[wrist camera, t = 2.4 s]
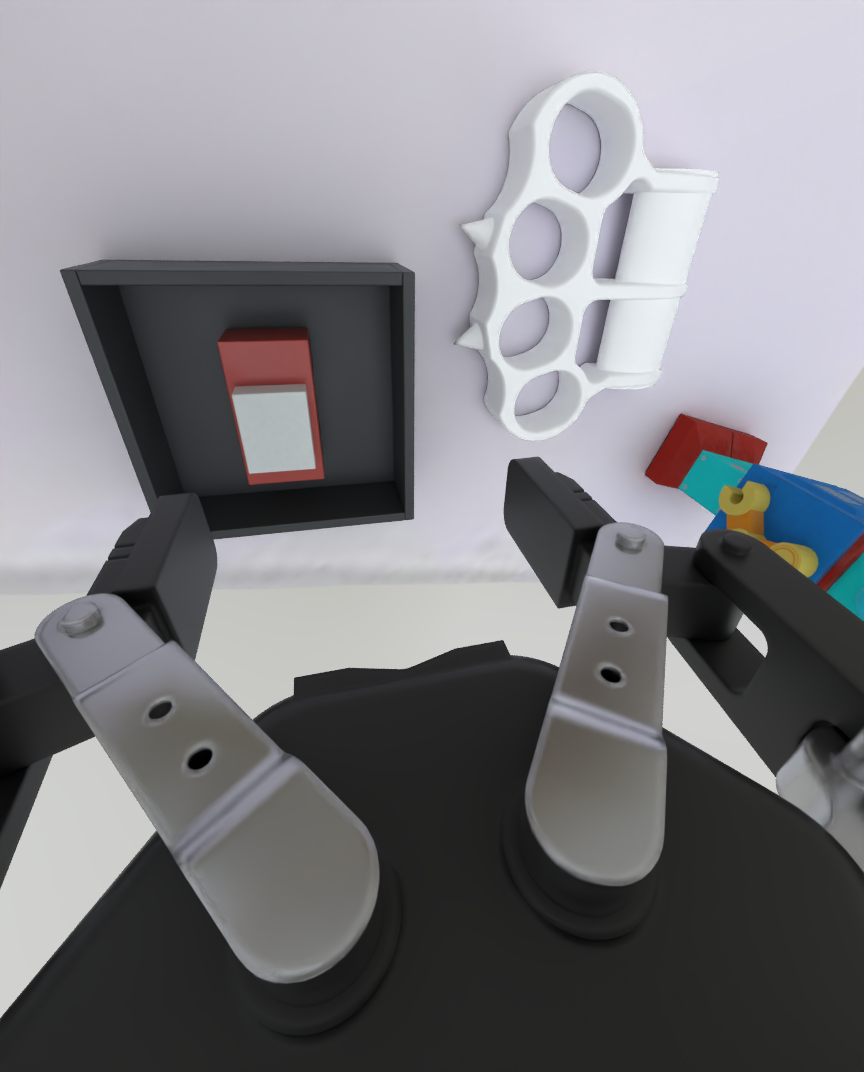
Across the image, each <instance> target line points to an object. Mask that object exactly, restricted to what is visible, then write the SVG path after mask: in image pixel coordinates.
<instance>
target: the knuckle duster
mask: <svg viewBox="0 0 864 1072" xmlns="http://www.w3.org/2000/svg"><path fill="white" fill-rule="evenodd" d="M566 103H568V104H571V105H573V106H575V107H577V108H578V109H580V110H582V111H583V112H585V113H587V114H588V115H589V116H590V117H591V118H592V119H593V120H594V122H595V123H596V125H597V127H598V130H599V133H600V138H601V156H600V161H599V165H598V168H597V171H596V173H595V175H594V177H593V179H592V180H591V182H590V183H589V185H588V186H587V187H586V188H585V189H584V190H583V191H582V192H581V193H579V194H578V193H576V192H574V191H572V190H570V189H568V188H566V187H564V186H563V185H562V184H561V183H560V182H559V181H558V180H557V178H556V177H555V175H554V173H553V170H552V167H551V163H550V157H549V142H550V136H551V131H552V128H553V125H554V122H555V120H556V118H557V116H558V114H559V112H560V111H561V109H562V108H563V107H564V105H565V104H566ZM508 135H509V143H510V159H509V167H508V172H507V177H506V180H505V183H504V186H503V188H502V190H501V192H500V194H499V196H498V198H497V199H496V201H495V202H494V204H493V205H492V206H491V207H490V209H489V210H488V211H487V212H486V213H485V215H484V218H483V220H480V221H476V222H471V223H467V224H463V225H460V226H461V227H462V229H463V230H464V231H465V232H466V233H467V235H468V236H469V237H470V238H471V239H472V241H473V242H474V243H475V244H476V246H475V249H474V256H475V259H476V262H477V266H478V271H479V288H478V294H477V298H476V301H475V304H474V306H473V308H472V310H471V312H470V314H469V317H470V323H471V327H470V328H469V329H468V330H467V331H466V332H465V333H464V334H463V335H462V336H461V337H460V338H459V339H458V340H457V341H456V342H455V343H454V344H456V345H460V346H464V347H469V348H473V349H477V350H478V351H479V353H480V354H481V355H482V357H483V359H484V361H485V363H486V366H487V371H488V386H487V390H486V394H485V396H484V402H485V404H486V406H487V408H488V410H489V411H490V412H491V414H492V415H493V416H494V417H495V418H496V419H497V420H498V421H499V422H500V423H501V424H502V426H503V427H504V428H505V429H506V430H507V431H508V432H509V433H511V434H512V435H514V436H516V437H518V438H520V439H523V440H528V441H539V440H545V439H548V438H551V437H554V436H556V435H558V434H559V433H561V432H563V431H564V430H565V429H567V428H568V427H569V426H570V425H571V424H572V423H573V422H574V421H575V420H576V419H577V417H578V416H579V415H580V413H581V412H582V410H583V408H584V406H585V404H586V402H587V401H588V399H590V398H591V397H592V396H594V395H595V394H597V393H598V392H599V391H601V390H602V389H604V388H612V389H642V388H648V387H651V386H654V385H655V381H657V380H659V378H660V375H661V372H662V370H661V369H659V368H660V365H661V362H662V358H663V355H664V352H665V348H666V345H667V342H668V339H669V335H670V332H671V329H672V325H673V322H674V319H675V315H676V312H677V309H678V305H679V302H680V299H681V297H683V296H684V295H685V293H686V289H687V286H688V285H687V284H686V283H685V282H686V279H687V276H688V272H689V269H690V266H691V262H692V259H693V256H694V252H695V249H696V246H697V242H698V239H699V236H700V232H701V229H702V226H703V222H704V219H705V216H706V212H707V209H708V206H709V202H710V199H711V196H712V195H713V194H714V193H716V191H717V187H718V184H719V181H720V179H719V177H717V176H718V172H716V171H709V170H698V169H676V168H654V167H653V166H652V164H651V163H650V161H649V160H648V158H647V157H646V155H645V154H644V152H643V128H642V121H641V116H640V112H639V109H638V106H637V104H636V101H635V99H634V97H633V96H632V94H631V92H630V91H629V90H628V88H627V87H626V86H625V85H624V84H623V83H622V82H621V81H620V80H618V79H617V78H615V77H614V76H612V75H610V74H607V73H604V72H599V71H587V72H582V73H578V74H575V75H573V76H571V77H569V78H567V79H565V80H563V81H561V82H559V83H557V84H555V85H553V86H551V87H549V88H547V89H545V90H543V91H542V92H540V93H539V94H537V95H536V96H535V97H533V98H532V99H531V100H530V101H529V102H528V103H527V104H526V105H525V106H524V108H523V109H522V110H521V111H520V113H519V114H518V116H517V117H516V119H515V121H514V123H513V125H512V127H511V129H510V131H509V134H508ZM623 193H629V194H634V197H633V201H632V205H631V210H630V214H629V219H628V223H627V228H626V232H625V237H624V241H623V246H622V250H621V255H620V259H619V264H618V268H617V273H616V277H615V278H593V273H592V269H593V263H594V258H595V253H596V248H597V243H598V238H599V233H600V228H601V223H602V218H603V214H604V212H605V210H606V208H607V207H608V206H609V205H610V204H612V203H613V202H614V201H615V200H617V199H618V198H619V197H620V196H621V195H622V194H623ZM533 202H535V203H537V204H539V205H541V206H544V207H546V208H548V209H549V210H551V211H552V212H553V213H554V215H555V216H556V217H557V219H558V221H559V224H560V227H561V233H562V242H561V248H560V252H559V255H558V257H557V259H556V261H555V263H554V265H553V266H552V267H551V269H550V270H549V271H548V272H547V273H546V274H544V275H543V276H541V277H539V278H537V279H534V280H527V279H525V278H523V277H521V276H520V275H519V274H518V273H517V272H516V270H515V269H514V267H513V265H512V262H511V259H510V254H509V239H510V234H511V231H512V228H513V225H514V223H515V221H516V219H517V218H518V216H519V215H520V213H521V212H522V211H523V210H524V209H525V208H526V207H527V206H528V205H530V204H531V203H533ZM542 297H543V298H544V300H545V301H546V303H547V306H548V309H549V324H548V328H547V331H546V333H545V335H544V337H543V338H542V340H541V341H540V342H539V343H538V344H537V345H536V346H535V347H534V348H532V349H531V350H529V351H527V352H524V353H521V354H518V355H515V356H512V357H503V356H502V354H501V351H500V347H499V335H500V331H501V327H502V325H503V323H504V321H505V319H506V318H507V316H508V315H509V314H510V313H511V312H512V311H513V310H514V309H515V308H516V307H518V306H519V305H521V304H524V303H526V302H529V301H532V300H535V299H538V298H542ZM595 300H610V304H609V309H608V313H607V318H606V322H605V327H604V331H603V336H602V340H601V345H600V349H599V354H598V358H597V363H584V364H583V365H581V366H580V367H579V366H578V365H577V364H576V362H575V355H576V350H577V345H578V340H579V335H580V330H581V324H582V319H583V315H584V312H585V310H586V308H587V307H588V305H589V304H590V303H592V302H593V301H595ZM552 371H558V374H559V385H558V389H557V392H556V394H555V396H554V397H553V399H552V400H551V401H550V403H549V404H547V405H546V406H545V407H544V408H542V409H540V410H538V411H535V412H533V413H530V414H527V415H523V416H515V414H514V406H515V401H516V398H517V396H518V394H519V392H520V390H521V389H522V388H523V387H524V385H525V384H527V383H528V382H529V381H530V380H532V379H533V378H535V377H538V376H540V375H543V374H546V373H549V372H552Z"/></svg>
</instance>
